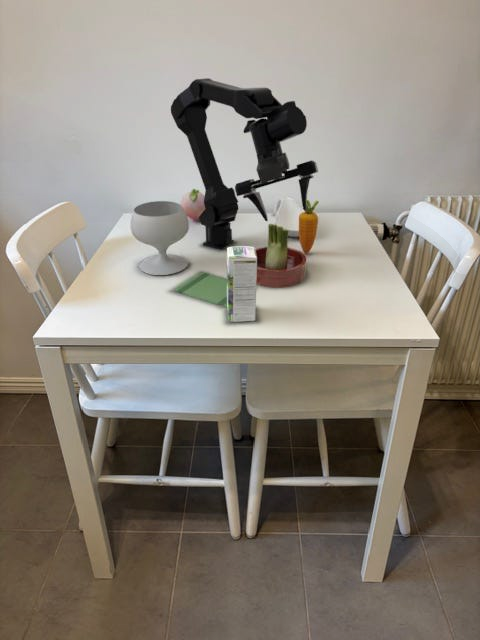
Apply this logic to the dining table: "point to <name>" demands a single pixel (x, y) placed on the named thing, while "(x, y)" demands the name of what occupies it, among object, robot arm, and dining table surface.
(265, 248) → the bowl
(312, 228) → the carrot
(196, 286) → the tea towel
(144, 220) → the chalice
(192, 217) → the decorative fruit
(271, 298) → the dining table surface
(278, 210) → the white gravy boat
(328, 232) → the dining table surface
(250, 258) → the syrup box
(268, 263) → the fennel bulb
